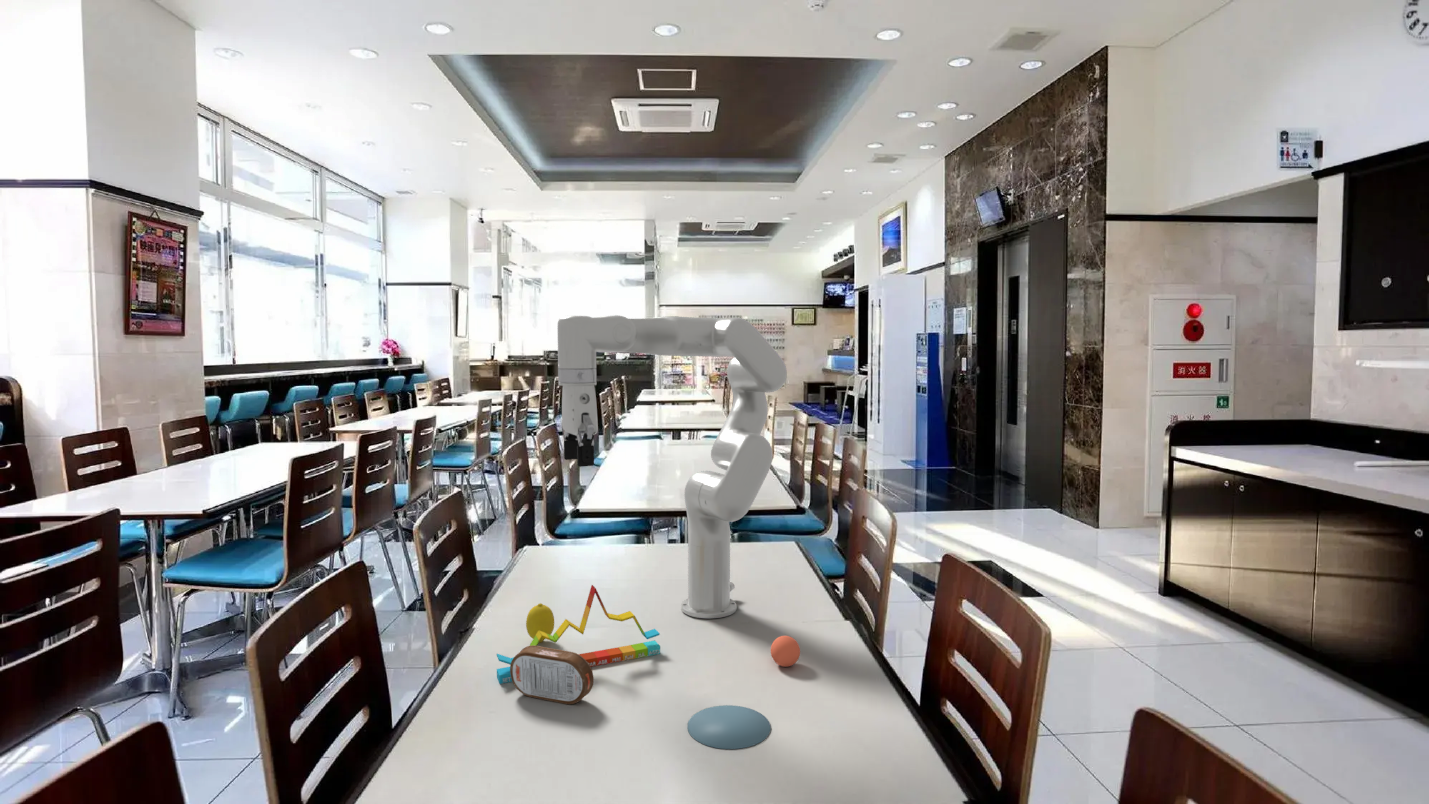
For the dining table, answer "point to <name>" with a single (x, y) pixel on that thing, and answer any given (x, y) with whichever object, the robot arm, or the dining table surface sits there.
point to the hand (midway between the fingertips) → (578, 462)
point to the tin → (551, 674)
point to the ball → (785, 651)
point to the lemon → (540, 620)
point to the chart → (596, 656)
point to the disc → (729, 727)
